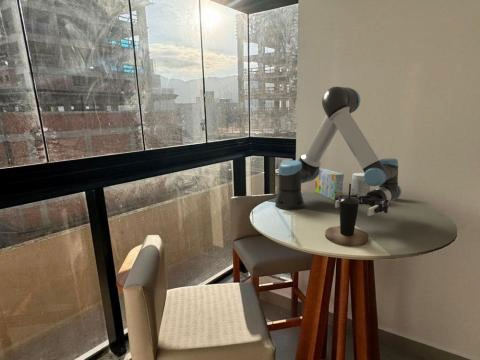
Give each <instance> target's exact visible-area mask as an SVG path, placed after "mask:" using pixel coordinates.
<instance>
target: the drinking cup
mask: <svg viewBox="0 0 480 360" xmlns="http://www.w3.org/2000/svg"><path fill="white" fill-rule="evenodd" d="M351 191H352V183H348V197H342V198H339V207H338V208H339V226H340V233H341V234H342V235H344V236H353V235H354V229H355V228H356V223H357V216H358V210H359V206H360V204H359V203H360V200H358V199H356V198H354V197H350V195H351Z"/></svg>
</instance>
